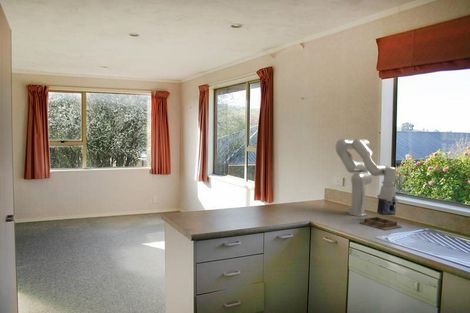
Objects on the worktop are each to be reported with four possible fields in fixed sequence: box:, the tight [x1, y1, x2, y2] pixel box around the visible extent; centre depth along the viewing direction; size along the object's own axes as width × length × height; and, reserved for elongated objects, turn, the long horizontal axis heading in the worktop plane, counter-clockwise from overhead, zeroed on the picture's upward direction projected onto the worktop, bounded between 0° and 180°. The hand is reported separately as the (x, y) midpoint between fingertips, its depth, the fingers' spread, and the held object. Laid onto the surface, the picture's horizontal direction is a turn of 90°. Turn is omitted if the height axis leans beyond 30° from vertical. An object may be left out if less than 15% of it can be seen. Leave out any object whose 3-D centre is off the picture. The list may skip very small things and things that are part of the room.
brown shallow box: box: [359, 216, 402, 231], centre depth 252 cm, size 20×16×4 cm
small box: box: [376, 199, 397, 216], centre depth 266 cm, size 11×6×10 cm, turn 102°
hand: (386, 209), depth 267 cm, fingers closed on small box, 7 cm apart
